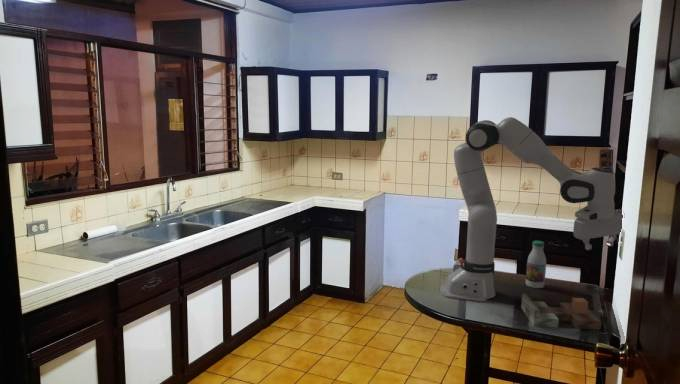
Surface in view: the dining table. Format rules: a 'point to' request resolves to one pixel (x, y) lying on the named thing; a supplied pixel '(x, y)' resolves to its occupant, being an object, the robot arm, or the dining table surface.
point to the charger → (456, 265)
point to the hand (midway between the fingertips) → (599, 247)
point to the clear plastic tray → (557, 315)
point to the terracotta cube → (579, 305)
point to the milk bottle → (536, 266)
